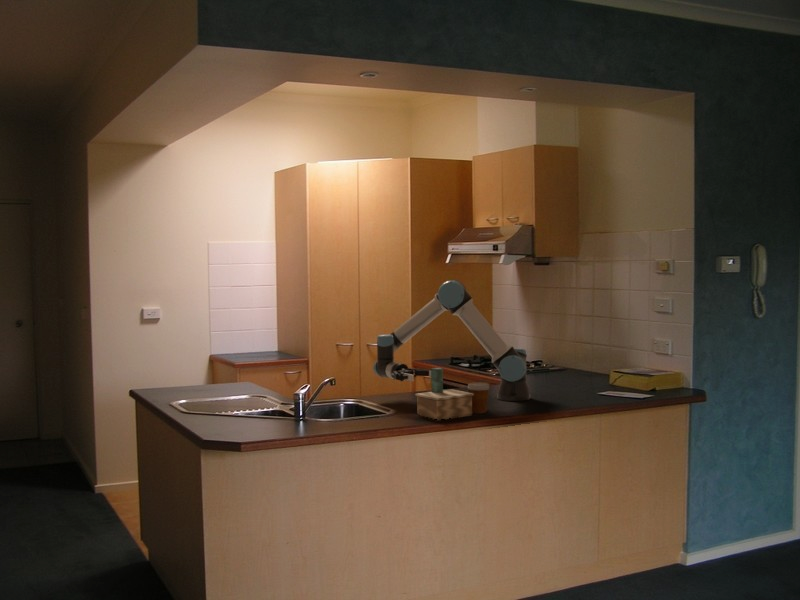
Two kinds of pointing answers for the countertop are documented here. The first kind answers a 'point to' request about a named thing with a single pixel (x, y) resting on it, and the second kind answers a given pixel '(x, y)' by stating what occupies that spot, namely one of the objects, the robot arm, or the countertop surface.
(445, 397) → the lid
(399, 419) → the countertop surface
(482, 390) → the disposable coffee cup
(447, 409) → the carton
